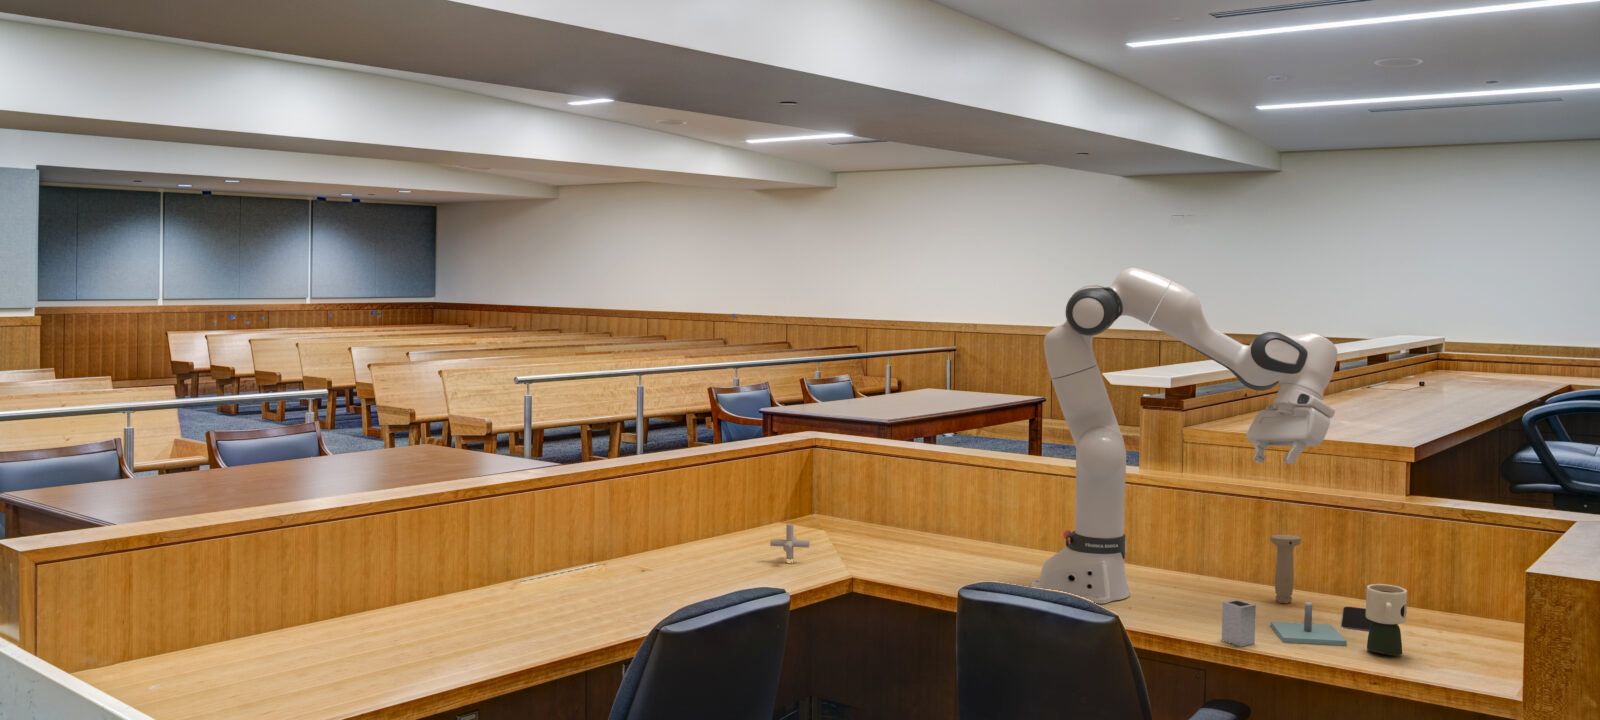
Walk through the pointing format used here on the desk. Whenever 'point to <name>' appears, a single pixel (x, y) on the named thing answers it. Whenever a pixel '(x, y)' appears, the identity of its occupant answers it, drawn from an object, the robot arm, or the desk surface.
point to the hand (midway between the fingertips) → (1272, 462)
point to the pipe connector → (789, 542)
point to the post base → (1308, 631)
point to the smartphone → (1355, 619)
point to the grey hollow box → (1238, 622)
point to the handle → (1284, 566)
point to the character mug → (1385, 617)
